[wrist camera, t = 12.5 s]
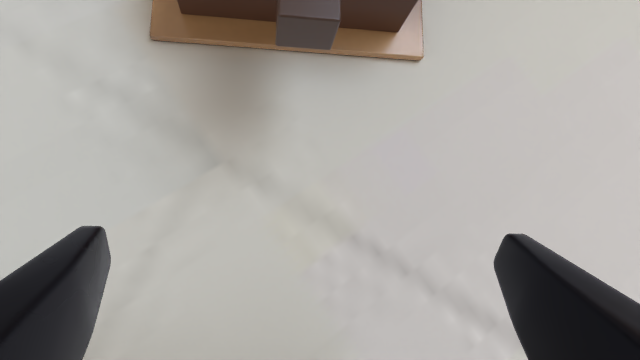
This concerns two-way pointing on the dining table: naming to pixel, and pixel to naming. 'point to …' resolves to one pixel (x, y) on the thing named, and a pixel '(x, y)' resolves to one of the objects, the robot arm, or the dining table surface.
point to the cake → (356, 11)
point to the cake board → (263, 33)
